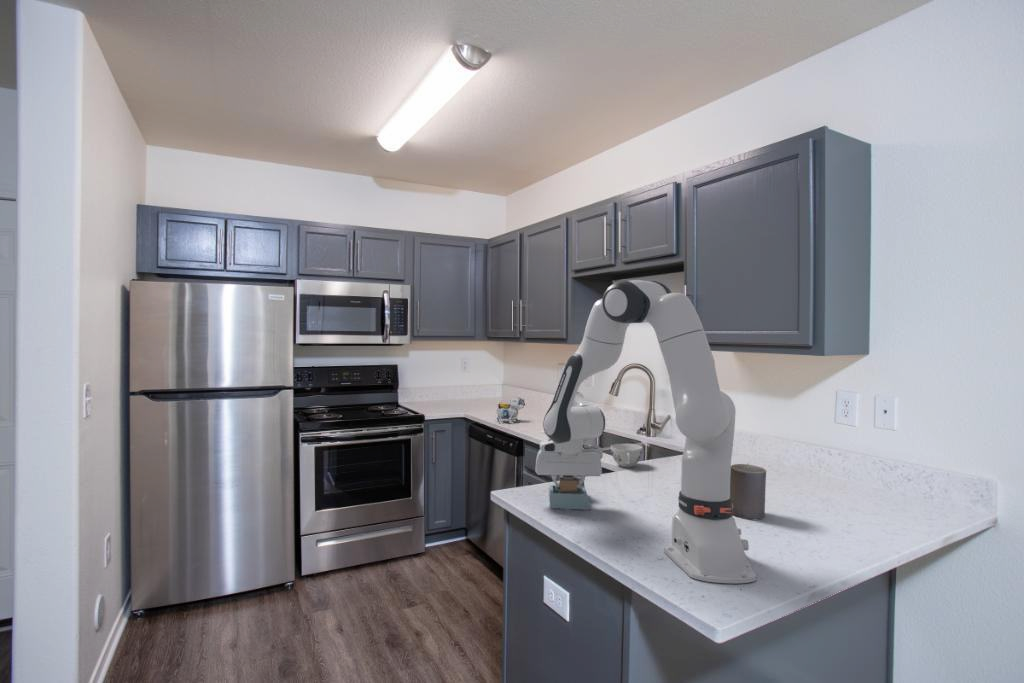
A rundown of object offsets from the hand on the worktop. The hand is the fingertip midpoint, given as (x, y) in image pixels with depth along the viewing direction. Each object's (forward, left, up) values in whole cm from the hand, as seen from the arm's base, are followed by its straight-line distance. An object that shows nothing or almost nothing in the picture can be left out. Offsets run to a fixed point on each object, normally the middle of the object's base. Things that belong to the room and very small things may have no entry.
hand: (567, 489), depth 161 cm
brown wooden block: (0, 0, -2) cm, 2 cm away
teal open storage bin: (+3, 0, -5) cm, 6 cm away
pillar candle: (-4, -52, -5) cm, 53 cm away
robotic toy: (+147, +25, -5) cm, 150 cm away
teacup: (+49, -26, -5) cm, 56 cm away
